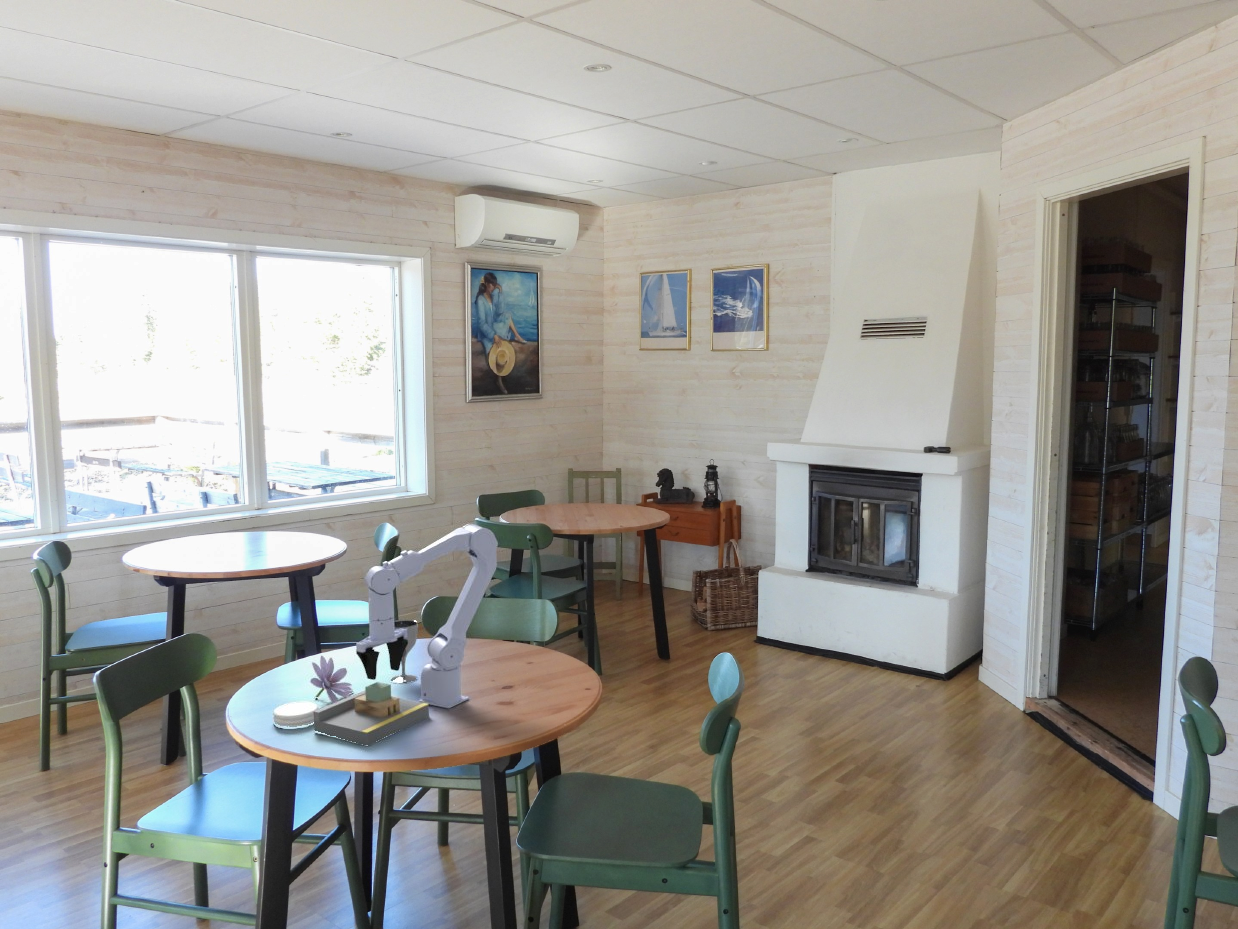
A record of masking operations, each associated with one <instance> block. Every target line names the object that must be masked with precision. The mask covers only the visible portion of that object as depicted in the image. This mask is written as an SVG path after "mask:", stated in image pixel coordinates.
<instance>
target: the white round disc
mask: <svg viewBox="0 0 1238 929" xmlns="http://www.w3.org/2000/svg"><path fill="white" fill-rule="evenodd" d="M318 709H320V707H319V705H318V704H317V703H315V702H312V701H294V702H287V703H285V704H281V705H279V706H278V707H276V708H274V710H273V713H272V715H273V718H272V719H273V723H274V722H275V724H278V725H280V726H287V727H288V726H289V727H297V726H302V725H308V724H311V723H313V722H314V711H316V710H318Z"/></svg>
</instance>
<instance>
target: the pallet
mask: <svg viewBox="0 0 1238 929" xmlns="http://www.w3.org/2000/svg"><path fill="white" fill-rule="evenodd" d="M399 698H400V697H397V698H396V696H392V695H391V698H388V699H386V700H384V701H381V702H379V703H378V702H374V701H369V700H366V694H364V695H361V696H359V697H357V698H354V701H355V711H357V712H361V713H365V714H370V715H374V716H378V717H383V718H385V717H387V716H388V715H392V714H394V712H398V711H400V705H399Z"/></svg>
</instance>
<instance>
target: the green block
mask: <svg viewBox="0 0 1238 929" xmlns="http://www.w3.org/2000/svg"><path fill="white" fill-rule="evenodd" d="M364 687H365V689H364V691H365V693H366V700H369V701H374V702H378V703H379V702H381V701H384V700H386V699H388V698H391V696H392V685H391V684H389V683H384V682H380V681H376V682H374V683H371V684H369V685H366V686H364Z"/></svg>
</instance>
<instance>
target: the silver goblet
mask: <svg viewBox="0 0 1238 929" xmlns="http://www.w3.org/2000/svg"><path fill="white" fill-rule="evenodd" d="M394 629H395V630H397V629H407V637H406V638H404V639H406V640H408V645H407V646H406V648H405V650H404V653H403V656H402V659H401V663H400V665H401V674H400V676H399V675H395V676H393V677H391V678H392V679H391V678H390V679H391V681H393V682H397V683H405V684H408V683H407V682H411V681H414V682H416V681H417V680H418V679H416V678H418V676H417V675H414V674H406V659H407V656H408V654H409V653H410V652H411V651H412V649H414V647H415V645H416V643H417V639H418V633H419V631H418V630H419V624H418V621H417V620H413V619H398V620H394ZM413 675H414V676H413ZM415 680H416V681H415ZM411 683H412V682H411Z"/></svg>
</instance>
